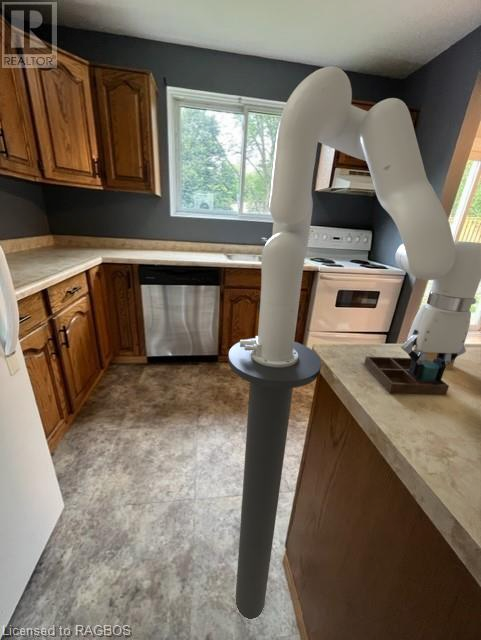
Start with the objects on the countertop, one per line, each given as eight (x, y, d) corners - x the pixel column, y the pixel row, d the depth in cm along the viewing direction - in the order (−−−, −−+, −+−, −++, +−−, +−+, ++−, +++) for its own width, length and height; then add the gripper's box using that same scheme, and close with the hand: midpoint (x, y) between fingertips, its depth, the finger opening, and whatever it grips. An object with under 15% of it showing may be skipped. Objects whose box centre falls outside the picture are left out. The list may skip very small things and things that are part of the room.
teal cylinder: (421, 382, 62) (425, 368, 60) (410, 372, 66) (414, 359, 64) (439, 382, 62) (444, 369, 60) (426, 373, 66) (431, 359, 64)
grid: (389, 393, 61) (392, 384, 60) (364, 364, 73) (365, 356, 72) (445, 395, 61) (449, 385, 60) (411, 366, 74) (413, 358, 73)
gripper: (472, 299, 61) (447, 369, 67) (399, 296, 61) (381, 367, 67) (503, 309, 54) (472, 387, 60) (421, 306, 53) (398, 384, 60)
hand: (424, 376), depth 64 cm, fingers closed on teal cylinder, 4 cm apart
